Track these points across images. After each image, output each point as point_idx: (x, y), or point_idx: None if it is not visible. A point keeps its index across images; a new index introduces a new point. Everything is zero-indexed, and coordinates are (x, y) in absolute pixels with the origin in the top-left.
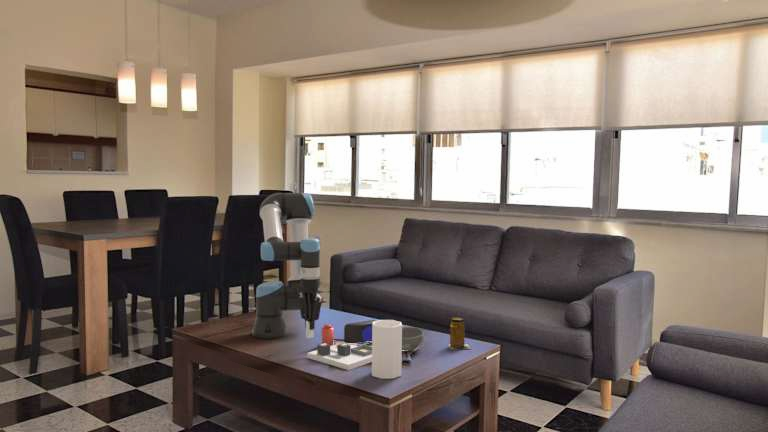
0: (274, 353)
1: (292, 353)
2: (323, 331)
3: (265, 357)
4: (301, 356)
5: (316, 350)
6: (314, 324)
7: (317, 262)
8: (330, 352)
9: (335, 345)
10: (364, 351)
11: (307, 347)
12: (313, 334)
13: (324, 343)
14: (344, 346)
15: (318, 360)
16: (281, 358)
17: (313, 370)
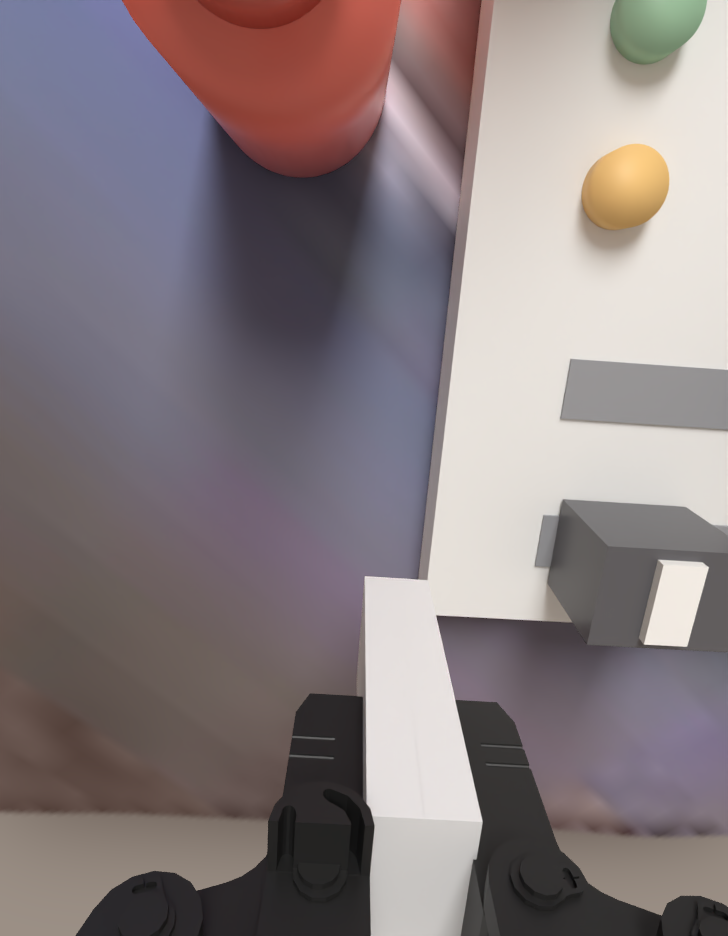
0: (48, 675)
1: (182, 572)
2: (260, 112)
3: (97, 791)
4: (334, 586)
5: (449, 491)
6: (536, 786)
7: None
8: (645, 447)
9: (517, 143)
10: None
11: (120, 296)
12: (433, 605)
13: (662, 574)
14: None
15: None
16: (230, 732)
17: (692, 781)
